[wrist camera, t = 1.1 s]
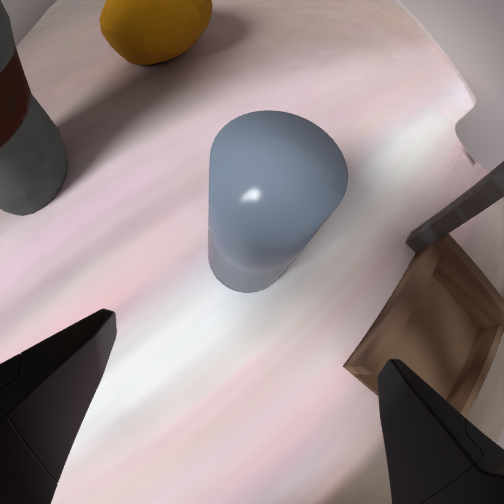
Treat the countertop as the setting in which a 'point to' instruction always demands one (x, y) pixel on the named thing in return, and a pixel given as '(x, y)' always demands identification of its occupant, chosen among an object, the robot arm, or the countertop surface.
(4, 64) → the bottle
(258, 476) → the countertop surface
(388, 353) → the shelf bay
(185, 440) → the countertop surface
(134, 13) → the apple
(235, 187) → the blue-grey tall cylinder
